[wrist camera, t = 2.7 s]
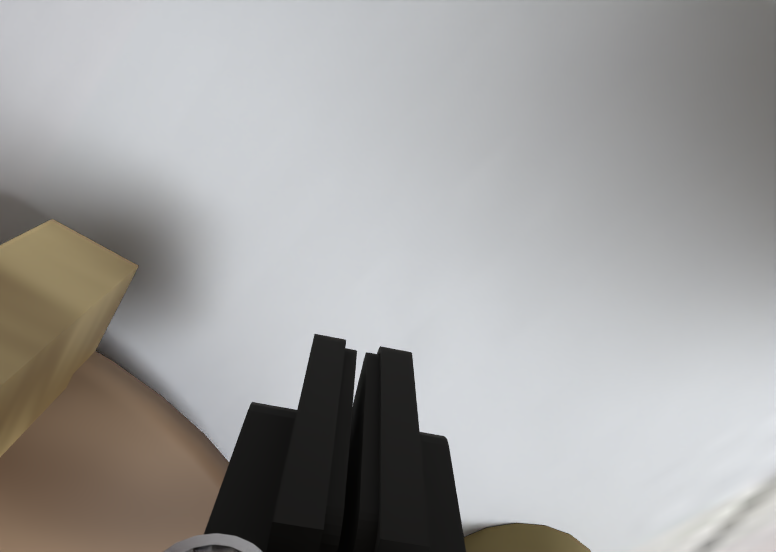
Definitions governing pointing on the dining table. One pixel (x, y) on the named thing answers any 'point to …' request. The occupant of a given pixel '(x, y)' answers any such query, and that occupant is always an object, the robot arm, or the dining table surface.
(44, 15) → the dining table surface
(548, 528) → the cork
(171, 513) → the turntable
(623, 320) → the dining table surface
